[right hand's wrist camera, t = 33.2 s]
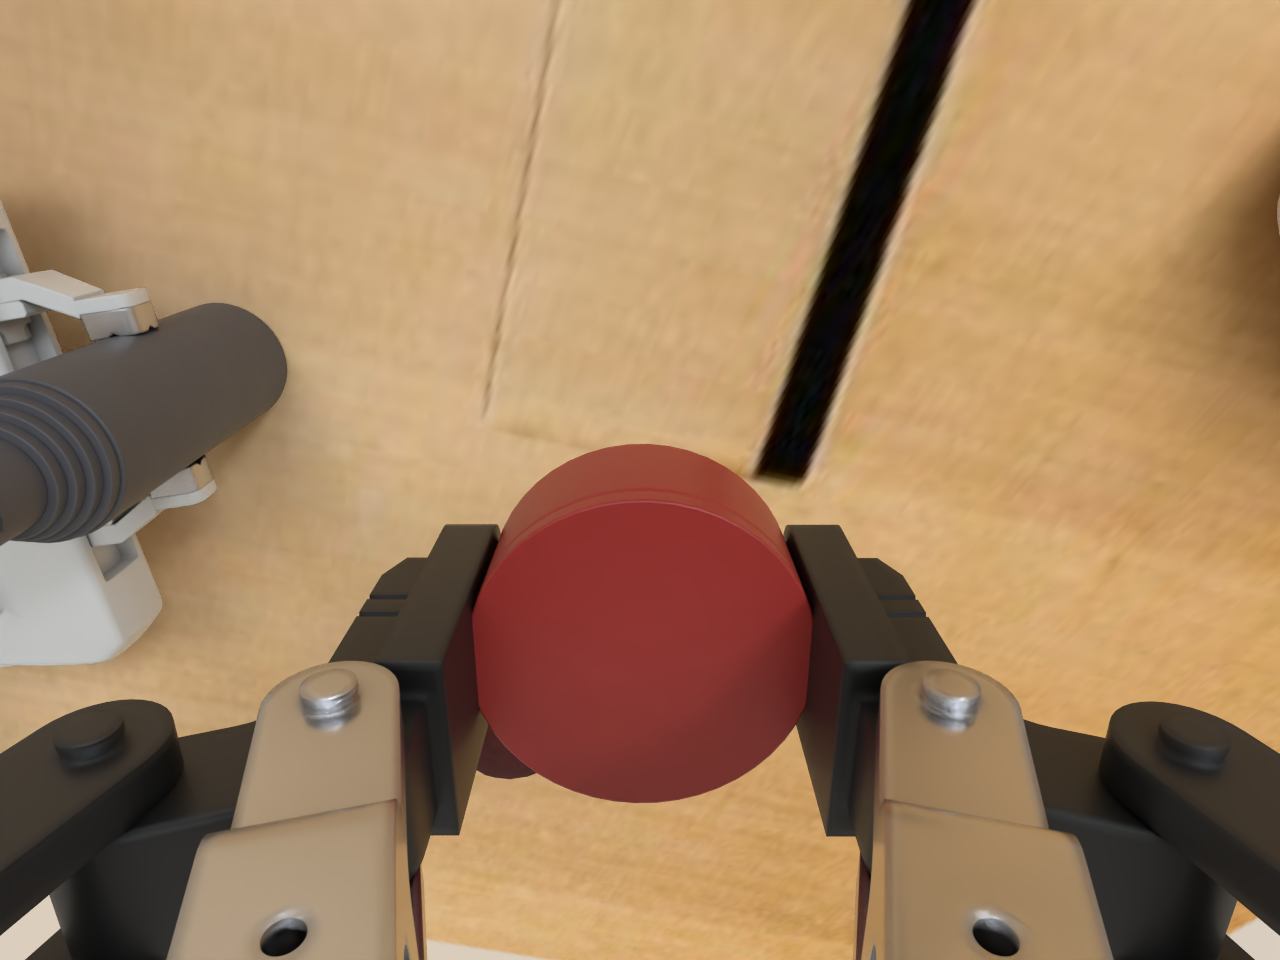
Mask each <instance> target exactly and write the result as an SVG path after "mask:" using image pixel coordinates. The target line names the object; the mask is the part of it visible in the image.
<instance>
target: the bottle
mask: <svg viewBox="0 0 1280 960" xmlns="http://www.w3.org/2000/svg"><path fill="white" fill-rule="evenodd" d="M158 323H159V327H157V328H154V329H149V330H148V331H146V332H143V333H139V334H135V335H130V336H117V335H116V336H113V337H110V338H107V339H103V340H100V341H98V342H95V343H92V344H89V345H86V346H83V347H81V348H78V349H75V350H72V351H69V352H67V353H64V354H61V355H58V356H55V357H52V358H50V359H47V360H44V361H41V362H38V363H35V364H33V365H30V366H27V367H24V368H21V369H18V370H16V371H13V372H10V373H7V374H4V375H1V376H0V546H1V545H3V544H5V543H6V542H8V541H23V542H36V543H57V542H63V541H68V540H72V539H74V538H79V537H83V536H85V535H88V534H91V533H93V532H95V531H96V530H98V529H100V528H101V527H103V526H104V525H106V524H107V523H109V522H110V521H111V520H113V519H114V518H116V517H117V516H118V515H120V514H121V513H123V512H124V511H125V510H127V509H128V508H130V507H131V506H132V505H134V504H135V503H137V502H138V501H139V500H141V499H142V498H144V497H145V496H147V495H148V494H149V493H151V492H152V491H154V490H155V489H156V488H158V487H159V486H161V485H162V484H163V483H165V482H166V481H168V480H169V479H170V478H172V477H173V476H175V475H176V474H177V473H179V472H180V471H182V470H183V469H185V468H186V467H187V466H189V465H190V464H192V463H193V462H194V461H196V460H197V459H199V458H200V457H201V456H203V455H204V454H206V453H207V452H208V451H210V450H211V449H213V448H214V447H215V446H217V445H218V444H220V443H221V442H222V441H224V440H225V439H227V438H228V437H230V436H231V435H232V434H234V433H235V432H237V431H238V430H239V429H241V428H242V427H244V426H245V425H246V424H248V423H249V422H251V421H252V420H253V419H255V418H256V417H258V416H259V415H260V414H262V413H263V412H265V411H266V410H267V409H269V408H270V407H271V406H272V405H273V404H274V403H275V402H276V401H277V400H278V398H279V397H280V395H281V393H282V391H283V388H284V385H285V381H286V372H287V368H286V360H285V356H284V352H283V350H282V347H281V345H280V343H279V341H278V339H277V338H276V336H275V335H274V333H273V332H272V331H271V330H270V328H269V327H268V326H267V325H266V324H265V323H264V322H263V321H262V320H260V319H259V318H258V317H256V316H255V315H253V314H252V313H250V312H248V311H246V310H244V309H242V308H239V307H236V306H233V305H229V304H223V303H210V304H204V305H199V306H197V307H194V308H191V309H188V310H185V311H182V312H180V313H177V314H174V315H171V316H168V317H166V318H163V319H160V320H158Z"/></svg>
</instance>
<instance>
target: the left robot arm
mask: <svg viewBox="0 0 1280 960" xmlns="http://www.w3.org/2000/svg"><path fill="white" fill-rule="evenodd" d="M50 310H54V311H57V312H60V313H63V314H66V315H69V316H72V317H75V318H78V319H82V321H83V324H84V326H85V329H86V331H87V333H88V336H89V338H90V340H91V341H96V340H103V339H107V338H110V337H113V336H116V335H117V336H130V335H135V334H139V333H143V332H146V331H148V330H149V329H154V328H157V327H159V323H158V320H157V317H156V314H155V311H154V308H153V305H152V302H151V301H150V297H149V294H148V292H147V289H146V287H141V288H135V289H128V290H122V291H115V292H108V293H104V290H103V289H100V288H98V287H95V286H93V285H90V284H88V283H85V282H82V281H80V280H77V279H75V278H72V277H70V276H67V275H65V274H62V273H60V272H57V271H55V270H46V271H39V272H33V273H30V271H29V268H28V266H27V263H26V261H25V259H24V256H23V254H22V251H21V249H20V246H19V244H18V241H17V239H16V236H15V234H14V231H13V229H12V226H11V224H10V221H9V219H8V216H7V214H6V211H5V209H4V206H3V204H2V201H1V199H0V376H1V375H4V374H7V373H10V372H13V371H16V370H18V369H21V368H24V367H27V366H30V365H33V364H35V363H38V362H41V361H44V360H47V359H50V358H52V357H55V356H58V355H61V354H63V353H62V350H61V348H60V345H59V343H58V340H57V338H56V335H55V333H54V330H53V328H52V325H51V323H50V320H49V318H48V316H47V313H46V312H47V311H50ZM217 490H218V489H217V486H216V483H215V480H214V478H213V475H212V472H211V469H210V467H209V464H208V461H207V458H206V456H205V455H203V456H201V457H200V458H199V459H197V460H196V461H194V462H193V463H192V464H190V465H189V466H187V467H186V468H185V469H183V470H182V471H180V472H179V473H177V474H176V475H175V476H173V477H172V478H170V479H169V480H168V481H166V482H165V483H163V484H162V485H161V486H159V487H158V488H156V489H155V490H154V491H152V492H151V493H150V495H149V496H147V497H146V498H145V499H144V500H142V499H141V500H139V501H138V502H137V503H135V504H134V505H132V506H131V507H130V508H128V509H127V510H125V511H124V512H123V513H121V514H120V515H118V516H117V517H116V518H114V519H113V520H111V521H110V522H109V523H107V524H106V525H104V526H103V527H101V528H100V529H98V530H96V531H95V532H93V533H91V534H88V535H85V536H83V537H79V538H74V539H72V540H68V541H63V542H57V543H36V542H23V541H8V542H6V543H5V544H3V545H1V546H0V668H3V667H11V666H16V665H18V666H62V665H83V664H94V663H101V662H106V661H109V660H111V659H113V658H115V657H117V656H118V655H120V654H121V653H123V652H124V651H125V650H126V649H128V648H129V647H130V646H131V645H132V644H133V643H134V642H136V641H137V640H138V639H139V638H140V637H141V636H142V635H143V633H144V632H145V631H146V630H147V629H148V628H149V627H150V625H151V624H152V623H153V621H154V620H155V619H156V617H157V616H158V614H159V613H160V611H161V610H162V606H163V602H162V598H161V595H160V592H159V590H158V588H157V585H156V583H155V580H154V578H153V575H152V573H151V570H150V568H149V565H148V563H147V560H146V558H145V555H144V553H143V551H142V548H141V546H140V543H139V541H138V538H137V536H136V532H137V531H139V530H140V529H141V528H143V527H144V526H145V525H147V524H148V523H149V522H151V521H152V520H153V519H154V518H155V517H157V516H158V515H159V514H160V513H161V512H162V511H163V510H165V509H168V508H175V507H183V506H190V505H194V504H197V503H200V502H202V501H204V500H206V499H207V498H209V497H210V496H211V495H212V494H214V493H215V492H216V491H217Z"/></svg>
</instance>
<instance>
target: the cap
mask: <svg viewBox="0 0 1280 960" xmlns="http://www.w3.org/2000/svg"><path fill="white" fill-rule="evenodd" d="M812 623H813V613H812V610H811V606H810V604H809V601H808V599H807V596H806V594H805V591H804V588H803V586H802V583H801V581H800V578H799V576H798V573H797V570H796V568H795V565H794V563H793V560H792V558H791V555H790V552H789V550H788V547H787V545H786V542H785V540H784V537H783V535H782V532H781V530H780V528H779V525H778V523H777V521H776V519H775V518H774V516H773V514H772V513H771V511H770V509H769V508H768V506H767V505H766V503H765V502H764V501H763V500H762V499H761V497H760V496H759V495H758V494H757V492H756V491H755V490H754V489H753V488H751V487H750V486H749V485H748V484H747V483H746V482H745V481H744V480H743V479H742V478H740V477H739V476H738V475H736V474H735V473H733V472H732V471H730V470H729V469H728V468H726V467H725V466H723V465H721V464H719V463H717V462H715V461H713V460H711V459H709V458H707V457H704V456H702V455H699V454H696V453H693V452H691V451H688V450H683V449H679V448H675V447H670V446H662V445H652V444H631V445H621V446H615V447H608V448H604V449H600V450H597V451H593V452H590V453H587V454H584V455H582V456H580V457H577V458H575V459H573V460H570V461H568V462H566V463H565V464H563V465H561V466H560V467H558V468H556V469H555V470H553V471H551V472H550V473H549V474H547V475H546V476H545V477H544V478H542V479H541V480H540V481H539V482H537V483H536V484H535V485H534V486H533V487H532V488H531V489H530V490H529V491H528V492H527V493H526V494H525V495H524V496H523V498H522V499H521V500H520V502H519V503H518V505H517V506H516V507H515V509H514V510H513V511H512V513H511V515H510V517H509V519H508V521H507V522H506V524H505V526H504V528H503V531H502V533H501V536H500V539H499V541H498V544H497V547H496V549H495V552H494V554H493V557H492V560H491V562H490V565H489V568H488V570H487V573H486V576H485V578H484V581H483V584H482V586H481V589H480V591H479V594H478V597H477V600H476V602H475V605H474V608H473V611H472V624H473V637H474V649H475V662H476V674H477V687H478V699H479V708H480V711H481V713H482V715H483V716H484V718H485V720H486V721H487V723H488V725H489V726H490V728H491V730H492V731H493V732H494V734H495V735H496V736H497V737H498V738H499V740H500V741H501V742H502V743H503V745H504V746H505V747H506V748H507V749H508V750H509V751H510V752H511V753H512V754H514V755H515V756H516V757H517V758H518V759H519V760H520V761H521V762H523V763H524V764H525V765H527V766H528V767H529V768H531V769H532V770H533V771H535V772H536V773H538V774H540V775H541V776H543V777H545V778H547V779H548V780H550V781H552V782H554V783H556V784H558V785H560V786H563V787H565V788H567V789H570V790H572V791H575V792H578V793H581V794H585V795H588V796H591V797H595V798H600V799H605V800H611V801H618V802H630V803H657V802H665V801H673V800H680V799H684V798H688V797H692V796H696V795H700V794H703V793H706V792H708V791H711V790H714V789H717V788H719V787H721V786H724V785H726V784H728V783H730V782H732V781H734V780H736V779H738V778H739V777H741V776H743V775H744V774H746V773H747V772H749V771H750V770H752V769H754V768H755V767H756V766H757V765H759V764H760V763H761V762H762V761H764V760H765V759H766V758H767V757H768V756H770V755H771V754H772V753H773V752H774V751H775V750H776V749H777V747H778V746H779V745H780V744H781V743H782V742H783V741H784V740H785V739H786V737H787V736H788V735H789V733H790V732H791V731H792V729H793V728H794V726H795V725H796V724H797V722H798V720H799V718H800V716H801V714H802V712H803V711H804V709H805V706H806V696H807V684H808V672H809V660H810V648H811V636H812Z"/></svg>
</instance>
